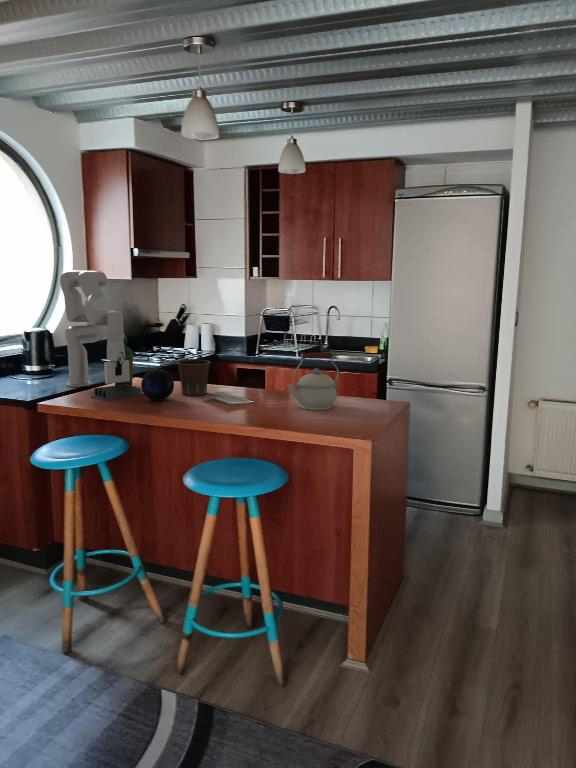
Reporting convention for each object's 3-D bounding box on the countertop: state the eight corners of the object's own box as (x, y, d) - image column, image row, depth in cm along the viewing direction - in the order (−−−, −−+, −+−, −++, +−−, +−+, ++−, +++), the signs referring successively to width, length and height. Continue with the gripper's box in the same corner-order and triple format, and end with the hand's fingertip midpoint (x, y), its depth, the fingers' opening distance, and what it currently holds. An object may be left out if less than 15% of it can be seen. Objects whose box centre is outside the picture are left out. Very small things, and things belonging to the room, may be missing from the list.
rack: (90, 396, 303) (89, 388, 302) (130, 391, 317) (130, 383, 317) (103, 401, 293) (103, 392, 292) (145, 395, 307) (145, 387, 307)
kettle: (329, 401, 296) (330, 349, 291) (346, 409, 279) (348, 354, 275) (279, 405, 287) (280, 351, 282) (294, 413, 270) (295, 356, 266)
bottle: (109, 389, 321) (106, 335, 316) (120, 386, 331) (118, 333, 326) (127, 390, 318) (125, 335, 313) (138, 387, 328) (136, 333, 323)
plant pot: (205, 397, 303) (204, 364, 300) (173, 396, 305) (172, 363, 302) (214, 391, 318) (214, 360, 315) (183, 390, 321) (183, 359, 318)
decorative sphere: (138, 403, 288) (137, 371, 285) (145, 397, 302) (144, 366, 300) (171, 403, 288) (171, 371, 286) (176, 397, 303) (175, 366, 300)
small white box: (105, 383, 300) (104, 362, 299) (127, 380, 308) (126, 360, 307) (107, 383, 299) (106, 363, 297) (129, 380, 307) (128, 360, 305)
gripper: (100, 336, 303) (102, 374, 306) (116, 338, 292) (118, 377, 295) (114, 335, 308) (116, 372, 311) (131, 337, 297) (132, 376, 300)
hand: (117, 374), depth 303 cm, fingers closed on small white box, 2 cm apart
